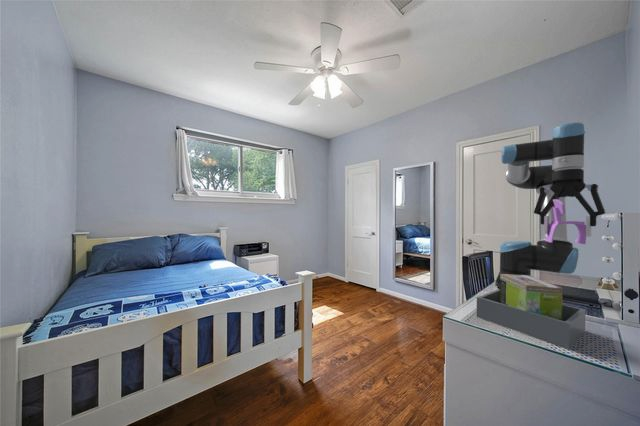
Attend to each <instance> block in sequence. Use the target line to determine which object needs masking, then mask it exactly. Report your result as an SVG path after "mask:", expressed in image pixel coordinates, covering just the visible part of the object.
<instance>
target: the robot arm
mask: <svg viewBox="0 0 640 426" xmlns="http://www.w3.org/2000/svg"><path fill="white" fill-rule="evenodd" d="M585 134H586V131H585V125H584V123H582V122H571V123H564V124H561V125H558V126H556V127H554V128H553V129H552V135H551V138H552V139H547V140H546V139H545V140H539V141H533V142H525V143H517V144H514V143H513V144H509V145H505V146H502V148H501V163H502V164H504V165H505V164H507V171H506V173H505V178H506V181H507V182H508V184H510V185H511V186H513V187H515V188H518V189H524V190H536V191H535V192H536V194H539V196H538V199H537V202H536V204H535V207H534V210H533V213H534V214H536V215H539V216H540V235H541V236H540V237H541V238H540V239H538V240H537V241H536V244H532V242H531V241H521V240H519V241H517V240H515V241H505V242H502V243H501V244H500V247H499V248H500V249H499V253H500V254H499V255H500V256H499V272H498V275H497V276H496V279H495V283H494V286H495V287H496V286H497V287H499V288H500V274H511V275H527V276H532V275H531V274H532V273H531V271H538V272H549V273H556V274H565V275H566V274H567V275H570V274H571V275H572V274H574V273H575V271H576V269H577V265H578V260H579V254H580V253H579V249H578V248H577V247H574V246H573V243H572V242H571V241H570V240H568V229H567V226H568V224H559V225H558V226H557V227H556V230H555V232H554V237H553V243H551V242H547V241H545V239H546V237H547V234H548V231H549V224H550V223H551V221H554V217H553V211H552V207H553V200H554V199H557V200H560V201H561V202H562V203H563V204H564V209H565V213H564V214H563V215H561V221H567V212H566V211H567V207H566V198H567V197H570V198H574V197H575V199H577V201H578V202H579V204H581V206H582V207H583V209H584V210H585V211H586V213H587V214H588V216H586V217H585V218H586V219H585V225H586V238H587V237H592V227H596V226H597V218H598V216H602V215H605V214H606V210H605V207H604V204H603V202H602V200H601V197H600V194H599V192H598V191H599V185H598V184H596V183H592V184H587V183H585V180H584V177H585V173H584V172H585V170H584V169H583V168H584V167H585V153H584V152H585V151H584V150H585ZM550 160H551V163H552V164H550V165H537V166H535V165H534V166H530V163H531V162H539V161H550ZM584 189H587V191H588V192H590V195H591V197H592V200H593V203H594V206H595V208H596V210H597V211H595V210H594V209H593V207H591V205H590V203H588V201H587V200H586V199H585V197H584V196H583V195H582V193H581V192H582V191H584ZM497 287H496V288H497ZM499 288H498V289H499Z"/></svg>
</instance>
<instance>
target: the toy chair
mask: <svg viewBox="0 0 640 426" xmlns="http://www.w3.org/2000/svg"><path fill="white" fill-rule="evenodd" d="M552 211H553V217H554V221H551V223H550V224H549V231H548V234H547V237H546V239H545V241H547V242H551V243H553V237H554V232H555V230H556V227H557V226H558V225H559V224H567V225H575V226H576V228H577V231H578V235H577V238H576V239H575V241H574V243H576V244H581V245H586V242H587V237H586V221H577V220H572V221H571V220H566V221H561V215H563V214H564V213H565V209H564V204H563V203H562V202H561V201H560V200H557V199H554V200H553V207H552Z"/></svg>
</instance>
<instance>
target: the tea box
mask: <svg viewBox="0 0 640 426" xmlns="http://www.w3.org/2000/svg"><path fill="white" fill-rule="evenodd" d="M500 303H502V304H505V305H509V306H512V307H516V308H519V309H523V310H525V311H530V312H533V313H537V314H541V315H544V316H548V317H551V318H555V319H558V320H562V304H563V287H561V286H559V285H557V284H553V283H550V282H548V281H545V280H542V279H540V278H537V277H535V276H532V275H531V276H527V275H511V274H500Z"/></svg>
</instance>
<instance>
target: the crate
mask: <svg viewBox="0 0 640 426" xmlns="http://www.w3.org/2000/svg"><path fill="white" fill-rule="evenodd" d="M478 317H479V319H481V320H484V321H487V322H489V323H493V324H496V325H499V326H501V327H504V328H507V329H510V330H513V331H516V332H518V333H522V334H524V335H527V336H530V337H532V338H535V339H539V340H541V341H544V342H547V343H549V344H553V345H555V346H557V347H561V348H564V349H566V350H570V349H571V348H572V347H573V346H574V344H576V343H577V341H578V340H580V338H581V337H582V336H584V334H585V333H586V309H583V308H580V307H574V306H571V305H569V304H568V305H567V304H563V303H562V320H558V319H555V318H551V317H548V316H544V315H541V314H537V313H533V312H530V311H525V310H523V309H519V308H516V307H512V306H509V305H505V304H502V303H500V289H499V288H497V289H495V290H493V291H490V292H487V293H485V294H482V295H479V296H477V297H476V318H478Z"/></svg>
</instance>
